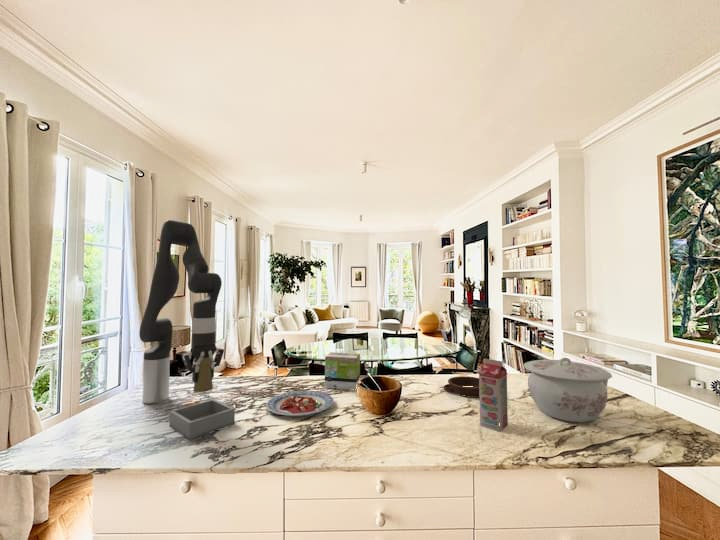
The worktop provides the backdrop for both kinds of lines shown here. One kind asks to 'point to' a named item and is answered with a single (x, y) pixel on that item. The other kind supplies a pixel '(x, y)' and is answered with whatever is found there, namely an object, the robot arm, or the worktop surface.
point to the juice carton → (493, 395)
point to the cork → (204, 376)
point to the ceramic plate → (299, 403)
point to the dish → (459, 382)
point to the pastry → (189, 404)
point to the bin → (201, 418)
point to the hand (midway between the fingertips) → (203, 381)
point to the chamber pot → (568, 389)
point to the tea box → (342, 370)
